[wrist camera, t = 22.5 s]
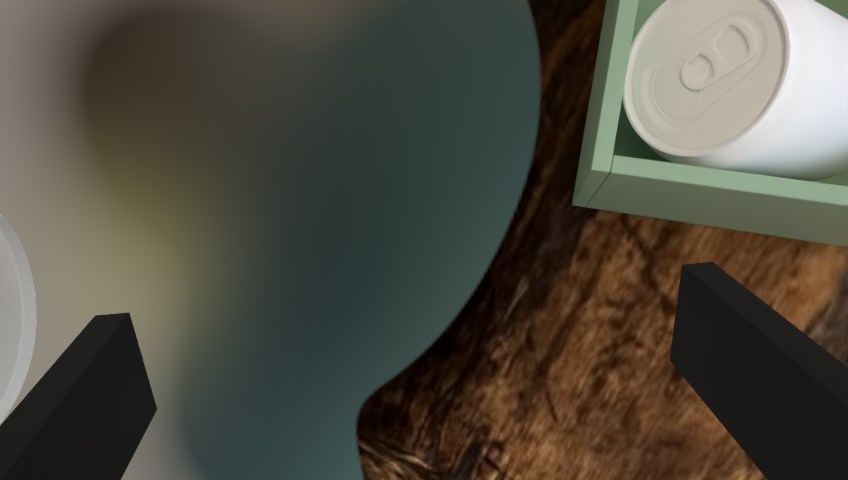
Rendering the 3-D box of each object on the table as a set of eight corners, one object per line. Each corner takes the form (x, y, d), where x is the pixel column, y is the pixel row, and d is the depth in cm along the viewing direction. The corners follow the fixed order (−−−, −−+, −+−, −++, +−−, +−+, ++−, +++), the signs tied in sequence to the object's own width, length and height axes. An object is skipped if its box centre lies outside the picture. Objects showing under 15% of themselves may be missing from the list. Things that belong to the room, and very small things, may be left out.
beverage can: (712, 93, 36) (587, 60, 29) (852, -8, 30) (738, -81, 23) (779, 208, 33) (658, 203, 26) (948, 122, 27) (852, 84, 20)
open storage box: (571, 205, 37) (590, 169, 25) (615, -50, 37) (653, -199, 26) (865, 250, 34) (1041, 233, 22) (906, -29, 34) (1099, -189, 23)
